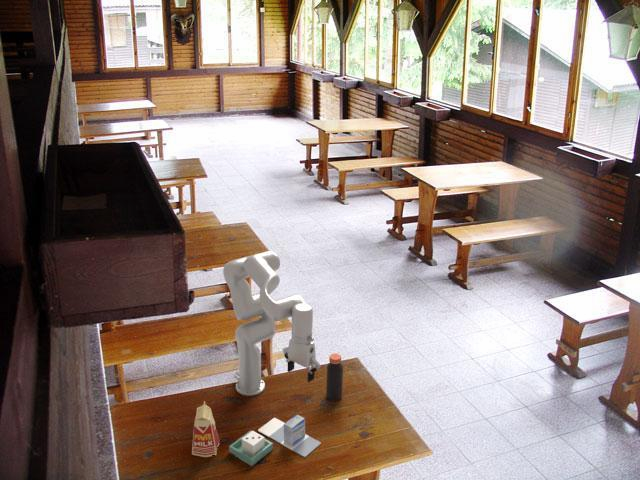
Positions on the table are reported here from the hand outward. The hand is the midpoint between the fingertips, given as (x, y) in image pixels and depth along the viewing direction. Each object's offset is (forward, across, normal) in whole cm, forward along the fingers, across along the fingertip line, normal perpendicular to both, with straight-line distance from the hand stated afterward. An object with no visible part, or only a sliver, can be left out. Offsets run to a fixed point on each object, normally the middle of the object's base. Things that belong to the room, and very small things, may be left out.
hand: (300, 375), depth 240 cm
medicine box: (+28, -1, +4) cm, 28 cm away
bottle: (+28, +4, -28) cm, 40 cm away
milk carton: (+28, +22, +29) cm, 46 cm away
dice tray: (+28, +8, +19) cm, 35 cm away
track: (+28, +2, +4) cm, 28 cm away
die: (+27, +7, +19) cm, 34 cm away
